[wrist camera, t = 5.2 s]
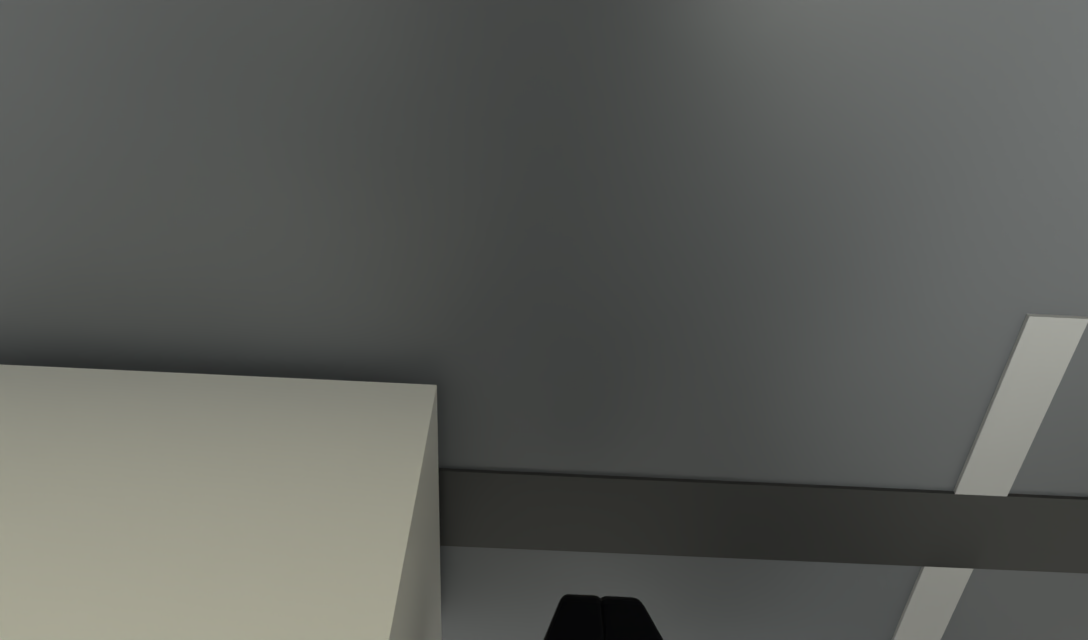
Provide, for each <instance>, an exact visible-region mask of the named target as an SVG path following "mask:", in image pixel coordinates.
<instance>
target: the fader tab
mask: <svg viewBox="0 0 1088 640" xmlns="http://www.w3.org/2000/svg"><path fill="white" fill-rule="evenodd" d="M0 640H442V631H441V578H440V525H439V472H438V420H437V385H429V384H408V383H386V382H365V381H343V380H322V379H301V378H279V377H258V376H236V375H215V374H194V373H172V372H151V371H129V370H108V369H87V368H65V367H44V366H22V365H1V364H0Z"/></svg>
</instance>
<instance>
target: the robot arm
mask: <svg viewBox="0 0 1088 640" xmlns="http://www.w3.org/2000/svg"><path fill="white" fill-rule="evenodd" d="M543 640H663V638H662V636H661V634H660V633H659V631H658V629H657V627H656V626H655V624H654V622H653V620H652V619H651V617H650V615H649V613H648V612H647V610H646V608H645V606H644V605H643V604H642V602H641V601H640V600H639V599H637V598H634V597H619V596H603V597H602V598H600V597H598V596H596V595H579V594H566V595H564V596H563V597H562V598H561V599H560V601H559V603H558V605H557V608H556V610H555V613H554V615H553V618H552V620H551V622H550V625H549V627H548V630H547V632H546V635H545V637H544V639H543Z"/></svg>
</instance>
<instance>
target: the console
mask: <svg viewBox="0 0 1088 640" xmlns="http://www.w3.org/2000/svg"><path fill="white" fill-rule="evenodd" d="M0 364H1V365H22V366H44V367H65V368H87V369H108V370H129V371H151V372H172V373H194V374H215V375H236V376H258V377H279V378H301V379H322V380H343V381H365V382H386V383H408V384H429V385H437V420H438V472H439V525H440V578H441V631H442V640H543V639H544V637H545V635H546V632H547V630H548V627H549V625H550V622H551V620H552V618H553V615H554V613H555V610H556V608H557V605H558V603H559V601H560V599H561V598H562V597H563V596H564V595H566V594H579V595H596V596H598V597H600V598H602V597H603V596H619V597H634V598H637V599H639V600H640V601H641V602H642V604H643V605H644V606H645V608H646V610H647V612H648V613H649V615H650V617H651V619H652V620H653V622H654V624H655V626H656V627H657V629H658V631H659V633H660V634H661V636H662V638H663V640H1088V0H0Z"/></svg>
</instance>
